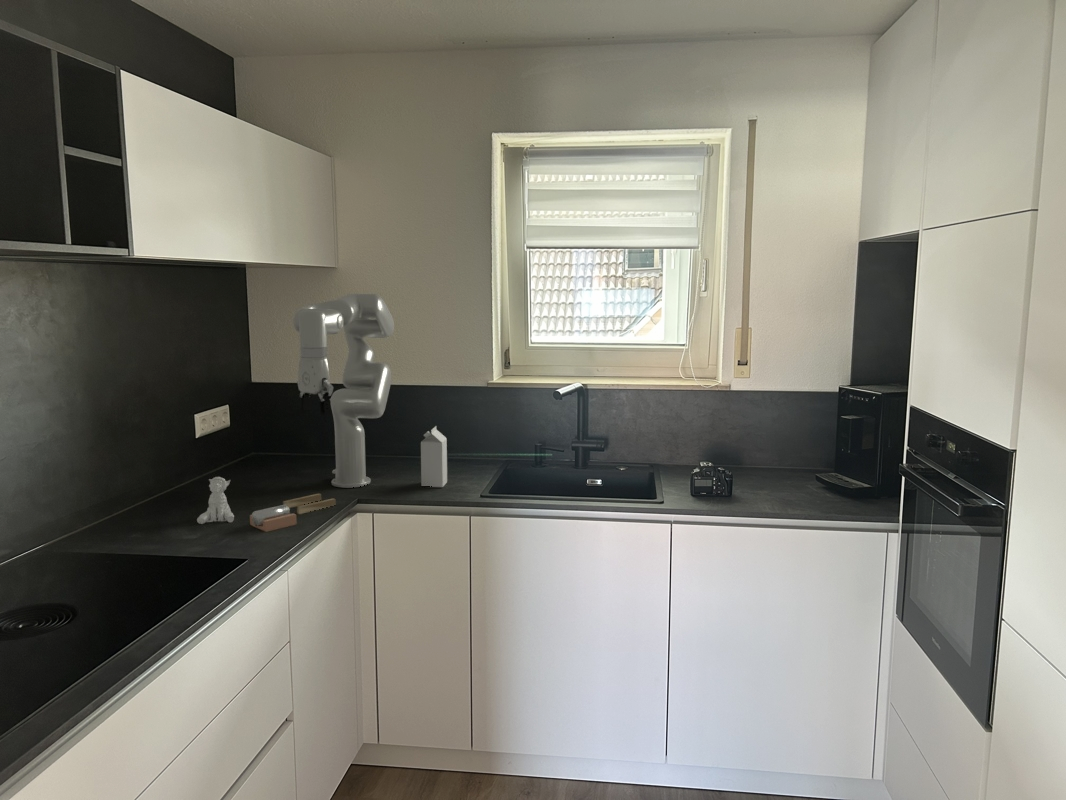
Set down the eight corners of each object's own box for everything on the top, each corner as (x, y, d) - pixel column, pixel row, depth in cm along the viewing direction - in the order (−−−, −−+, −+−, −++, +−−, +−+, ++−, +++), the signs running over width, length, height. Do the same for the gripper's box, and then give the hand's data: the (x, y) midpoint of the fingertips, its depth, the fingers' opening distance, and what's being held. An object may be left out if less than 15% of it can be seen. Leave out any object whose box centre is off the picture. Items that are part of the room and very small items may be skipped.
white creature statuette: (196, 524, 210) (194, 482, 208) (203, 515, 218) (200, 474, 217) (233, 522, 212) (231, 480, 210) (238, 513, 220) (236, 473, 219)
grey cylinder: (259, 527, 205) (258, 513, 205) (252, 524, 208) (251, 509, 207) (290, 520, 212) (289, 506, 211) (282, 516, 215) (282, 503, 214)
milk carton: (447, 482, 256) (446, 426, 254) (442, 487, 249) (442, 430, 247) (426, 481, 257) (425, 425, 254) (421, 487, 250) (420, 429, 247)
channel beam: (283, 507, 226) (282, 501, 226) (319, 499, 235) (318, 493, 234) (299, 514, 220) (299, 507, 220) (335, 505, 229) (335, 499, 228)
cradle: (250, 525, 210) (249, 515, 209) (280, 517, 216) (280, 508, 216) (266, 531, 204) (265, 521, 204) (296, 524, 211) (296, 514, 210)
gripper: (286, 352, 224) (288, 410, 226) (318, 356, 212) (320, 417, 215) (309, 351, 229) (311, 407, 232) (342, 354, 218) (343, 414, 220)
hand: (315, 412), depth 223 cm, fingers open, 9 cm apart
